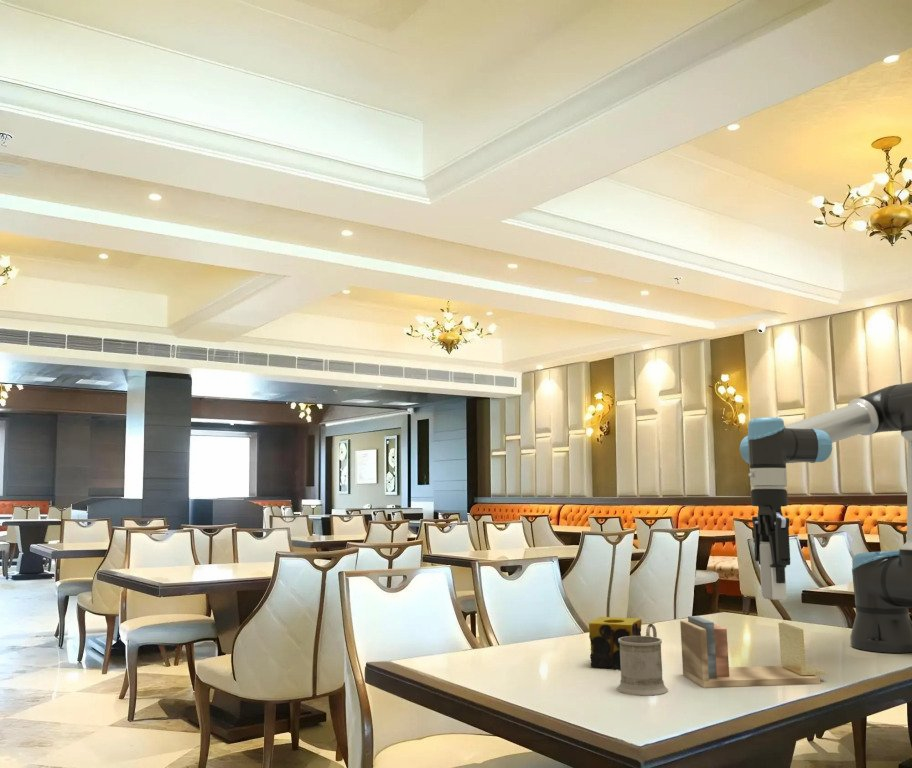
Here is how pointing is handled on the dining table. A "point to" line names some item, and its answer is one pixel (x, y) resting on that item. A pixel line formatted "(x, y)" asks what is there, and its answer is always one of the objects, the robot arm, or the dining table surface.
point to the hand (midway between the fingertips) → (773, 597)
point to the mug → (641, 664)
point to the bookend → (795, 651)
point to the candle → (610, 639)
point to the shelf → (735, 673)
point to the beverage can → (766, 570)
